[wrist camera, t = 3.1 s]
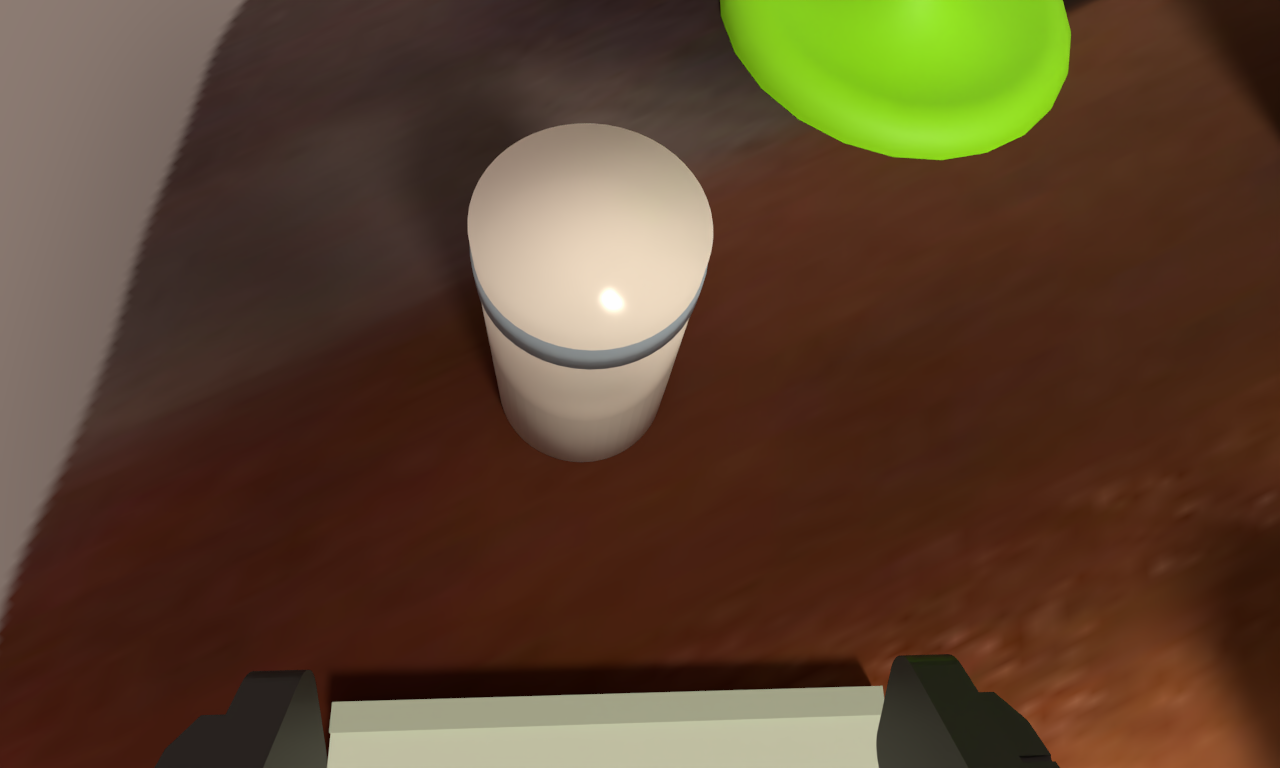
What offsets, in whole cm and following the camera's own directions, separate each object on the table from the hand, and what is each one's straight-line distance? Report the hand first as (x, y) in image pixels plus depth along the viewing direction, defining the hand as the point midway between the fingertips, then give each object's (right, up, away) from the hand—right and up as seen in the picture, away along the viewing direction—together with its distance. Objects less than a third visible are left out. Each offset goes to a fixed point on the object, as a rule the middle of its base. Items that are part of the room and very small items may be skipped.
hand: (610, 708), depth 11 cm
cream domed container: (-2, +5, +16) cm, 17 cm away
